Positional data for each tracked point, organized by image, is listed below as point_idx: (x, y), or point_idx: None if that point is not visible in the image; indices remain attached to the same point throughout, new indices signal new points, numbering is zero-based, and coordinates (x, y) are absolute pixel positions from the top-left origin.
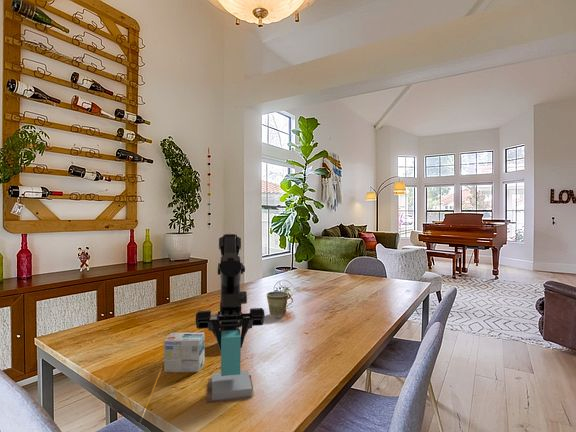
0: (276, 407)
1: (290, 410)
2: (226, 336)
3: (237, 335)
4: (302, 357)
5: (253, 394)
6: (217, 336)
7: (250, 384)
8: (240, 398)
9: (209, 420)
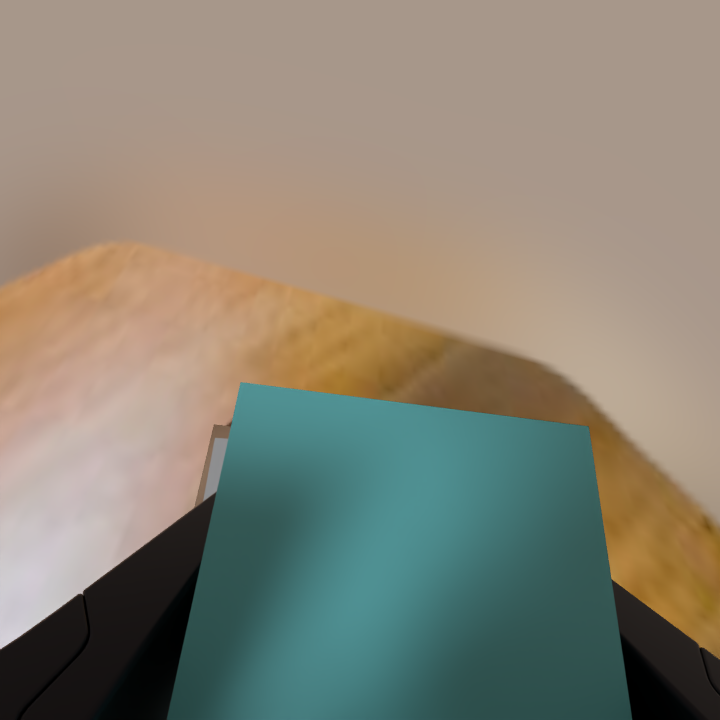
0: (124, 368)
1: (70, 328)
2: (501, 471)
3: (287, 459)
4: None
5: (207, 467)
6: (663, 623)
7: (209, 488)
8: None
9: (439, 369)
